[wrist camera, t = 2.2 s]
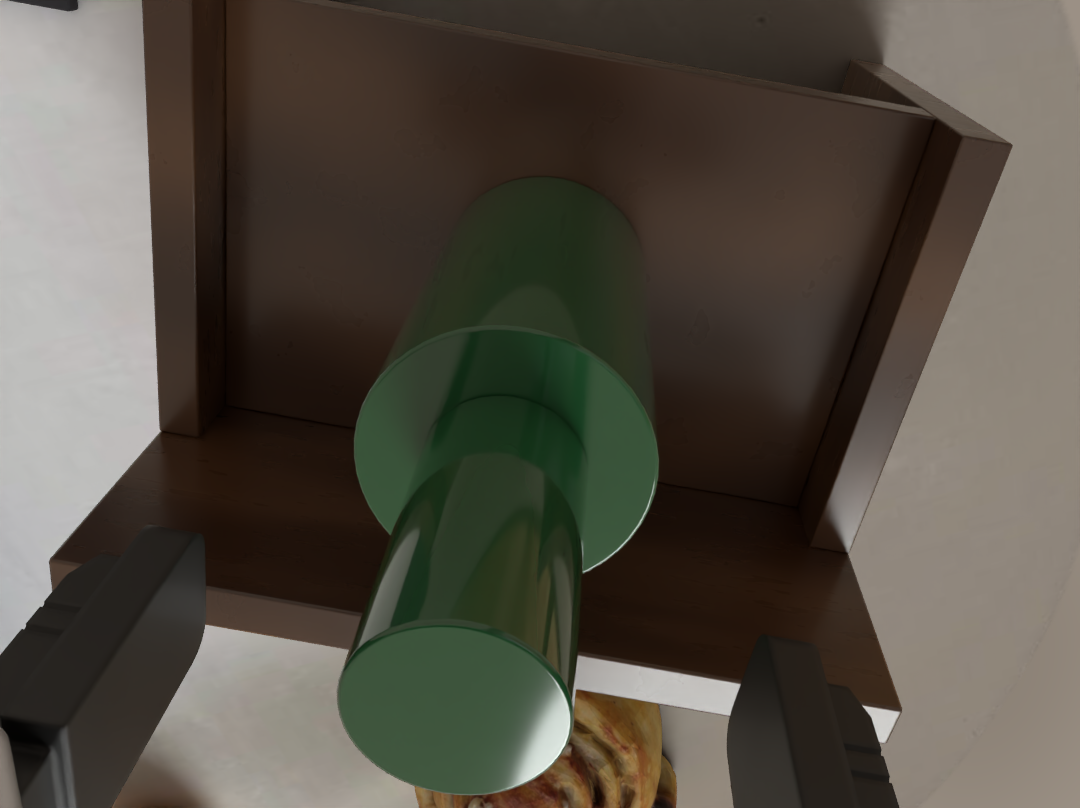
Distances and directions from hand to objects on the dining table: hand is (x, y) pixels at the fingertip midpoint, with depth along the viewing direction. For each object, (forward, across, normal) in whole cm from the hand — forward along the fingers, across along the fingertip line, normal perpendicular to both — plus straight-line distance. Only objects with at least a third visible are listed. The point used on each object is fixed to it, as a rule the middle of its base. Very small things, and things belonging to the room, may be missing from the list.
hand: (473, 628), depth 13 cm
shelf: (+24, 0, 0) cm, 24 cm away
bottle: (+14, 0, 0) cm, 14 cm away
